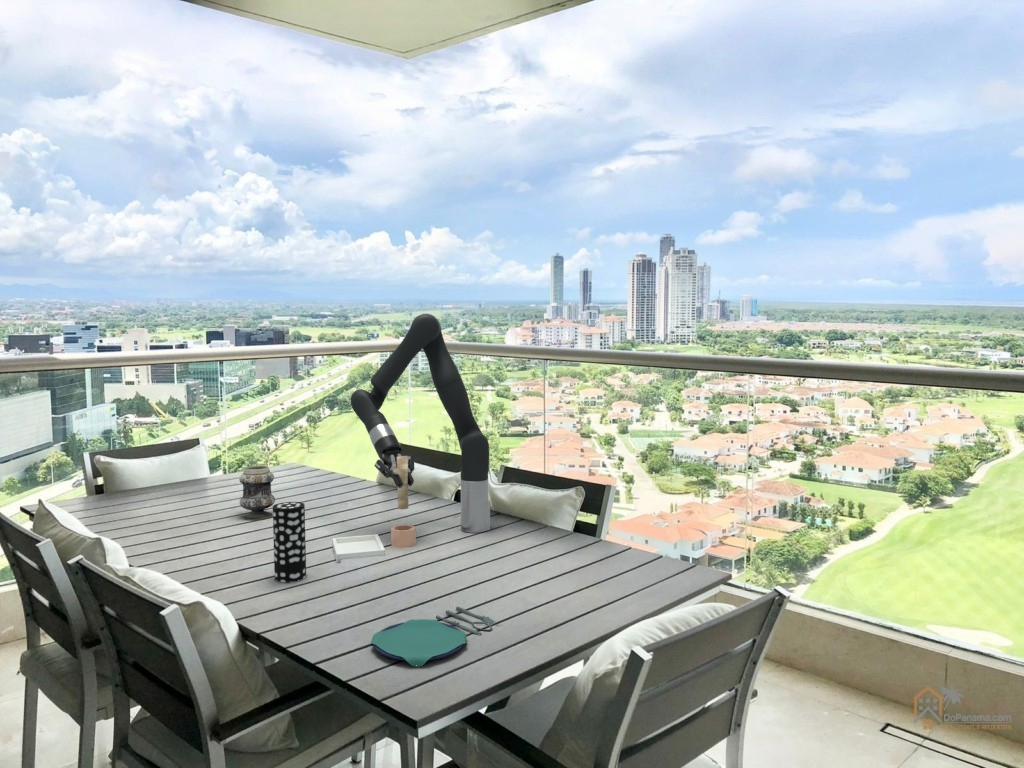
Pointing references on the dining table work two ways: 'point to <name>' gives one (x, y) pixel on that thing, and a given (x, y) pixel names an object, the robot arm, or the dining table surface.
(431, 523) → the dining table surface
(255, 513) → the apothecary jar
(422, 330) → the robot arm
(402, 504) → the wooden pin
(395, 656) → the cutlery set
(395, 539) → the holder cup
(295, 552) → the spotted tube
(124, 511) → the dining table surface
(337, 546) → the tray
